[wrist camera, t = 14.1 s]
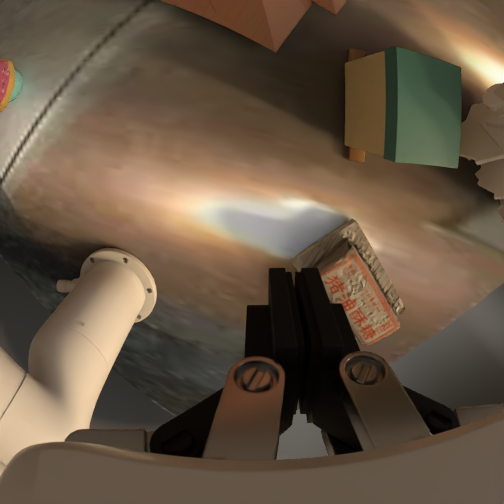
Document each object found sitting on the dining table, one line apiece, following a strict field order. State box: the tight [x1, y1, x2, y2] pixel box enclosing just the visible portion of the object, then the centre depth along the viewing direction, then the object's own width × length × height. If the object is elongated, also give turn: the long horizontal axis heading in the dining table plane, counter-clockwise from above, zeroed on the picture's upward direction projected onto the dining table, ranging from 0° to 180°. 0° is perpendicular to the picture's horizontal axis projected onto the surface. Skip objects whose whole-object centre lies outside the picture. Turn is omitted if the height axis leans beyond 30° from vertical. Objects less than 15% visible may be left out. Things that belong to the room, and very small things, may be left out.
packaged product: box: [291, 219, 405, 346], centre depth 39 cm, size 18×5×10 cm
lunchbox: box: [344, 46, 462, 168], centre depth 26 cm, size 11×10×8 cm
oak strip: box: [348, 48, 366, 161], centre depth 31 cm, size 2×14×1 cm, turn 1°
